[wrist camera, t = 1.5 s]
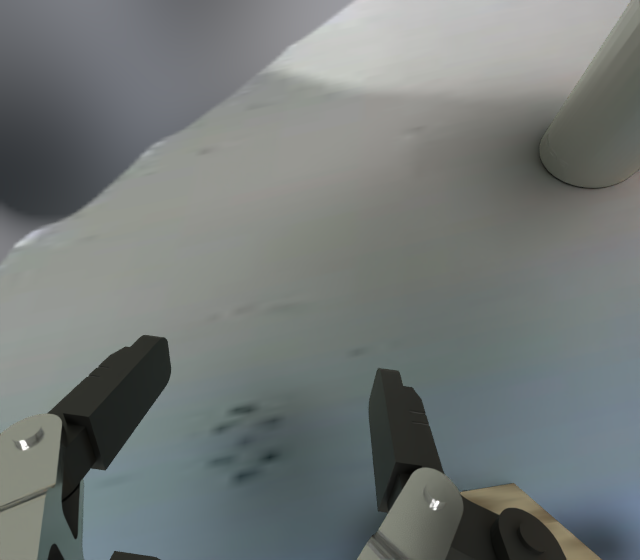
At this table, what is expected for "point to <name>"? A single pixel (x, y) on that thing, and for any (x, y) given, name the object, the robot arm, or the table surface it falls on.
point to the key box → (514, 497)
